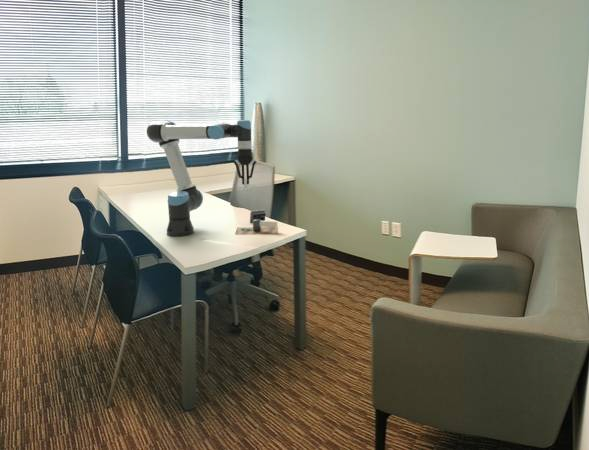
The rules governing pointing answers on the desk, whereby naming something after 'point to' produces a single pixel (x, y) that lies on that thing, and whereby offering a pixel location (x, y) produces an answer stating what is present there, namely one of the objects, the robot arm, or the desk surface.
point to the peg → (261, 224)
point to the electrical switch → (257, 215)
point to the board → (250, 231)
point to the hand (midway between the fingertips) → (245, 190)
